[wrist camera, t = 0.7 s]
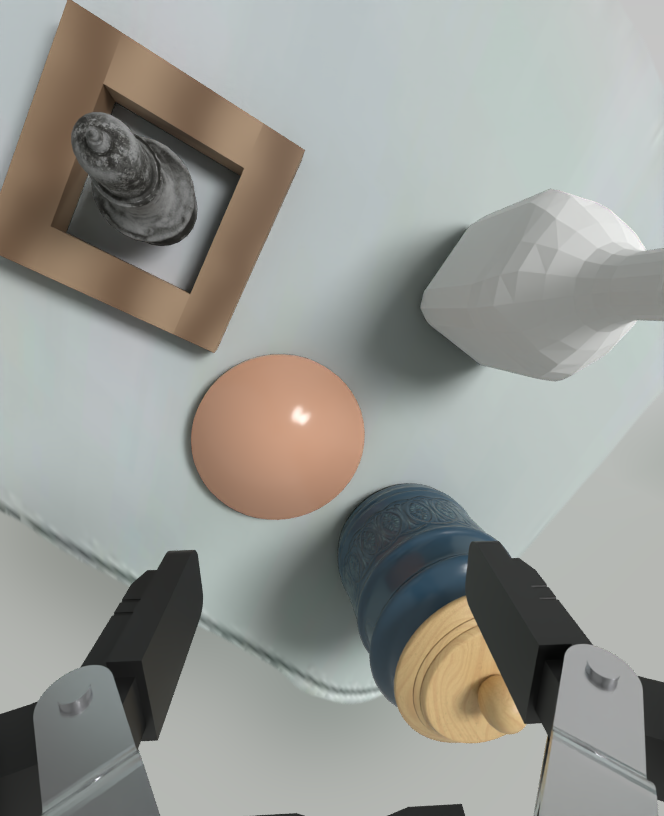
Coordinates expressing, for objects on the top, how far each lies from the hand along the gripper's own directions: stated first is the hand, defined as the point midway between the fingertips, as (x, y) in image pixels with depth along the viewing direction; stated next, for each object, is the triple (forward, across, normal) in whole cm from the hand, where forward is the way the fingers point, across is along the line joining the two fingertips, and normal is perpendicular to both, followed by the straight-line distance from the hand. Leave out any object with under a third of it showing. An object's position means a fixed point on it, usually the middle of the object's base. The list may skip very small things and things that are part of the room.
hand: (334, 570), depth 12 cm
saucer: (+22, +4, +4) cm, 22 cm away
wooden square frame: (+21, +11, -13) cm, 28 cm away
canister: (+23, -7, +16) cm, 29 cm away
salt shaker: (+22, +11, -13) cm, 28 cm away
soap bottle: (+25, -13, -7) cm, 29 cm away
